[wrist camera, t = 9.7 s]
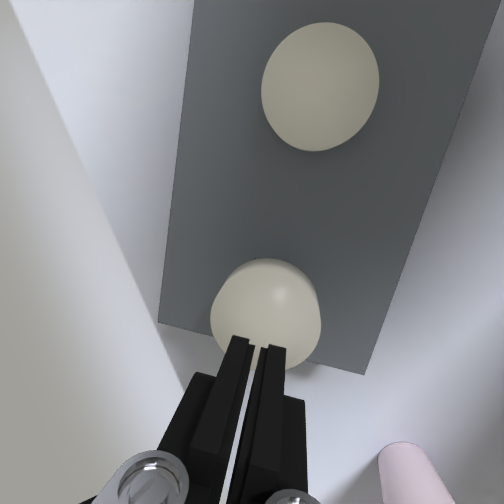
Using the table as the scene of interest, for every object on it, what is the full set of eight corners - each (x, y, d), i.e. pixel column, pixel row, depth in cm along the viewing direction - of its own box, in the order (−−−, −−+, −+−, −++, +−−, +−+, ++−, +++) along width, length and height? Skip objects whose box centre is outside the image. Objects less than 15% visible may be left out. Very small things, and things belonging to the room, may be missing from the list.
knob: (246, 227, 18) (219, 260, 12) (322, 244, 17) (334, 287, 11) (233, 296, 19) (203, 357, 13) (303, 313, 19) (305, 383, 13)
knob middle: (282, 64, 17) (274, 13, 11) (361, 78, 17) (395, 33, 11) (266, 146, 19) (251, 138, 13) (339, 161, 18) (359, 160, 12)
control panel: (255, -194, 15) (235, -359, 10) (513, -166, 14) (621, -332, 9) (187, 289, 23) (157, 322, 18) (349, 328, 22) (364, 375, 17)
